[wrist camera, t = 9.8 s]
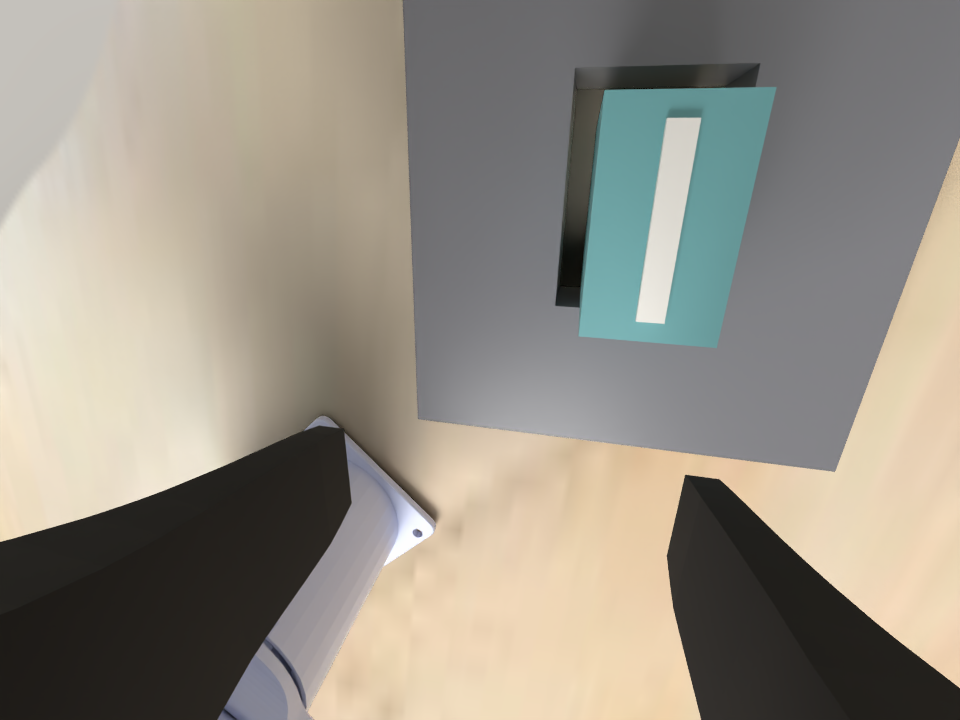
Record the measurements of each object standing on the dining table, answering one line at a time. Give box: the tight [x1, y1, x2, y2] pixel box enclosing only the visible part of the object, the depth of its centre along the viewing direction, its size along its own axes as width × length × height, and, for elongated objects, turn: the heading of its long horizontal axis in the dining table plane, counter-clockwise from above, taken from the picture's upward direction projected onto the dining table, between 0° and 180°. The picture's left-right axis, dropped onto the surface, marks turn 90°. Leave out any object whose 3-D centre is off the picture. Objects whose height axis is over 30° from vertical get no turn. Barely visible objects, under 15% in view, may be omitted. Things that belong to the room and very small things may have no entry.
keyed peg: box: [578, 87, 776, 348], centre depth 12 cm, size 5×3×7 cm, turn 179°
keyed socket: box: [403, 0, 960, 472], centre depth 14 cm, size 16×14×3 cm
